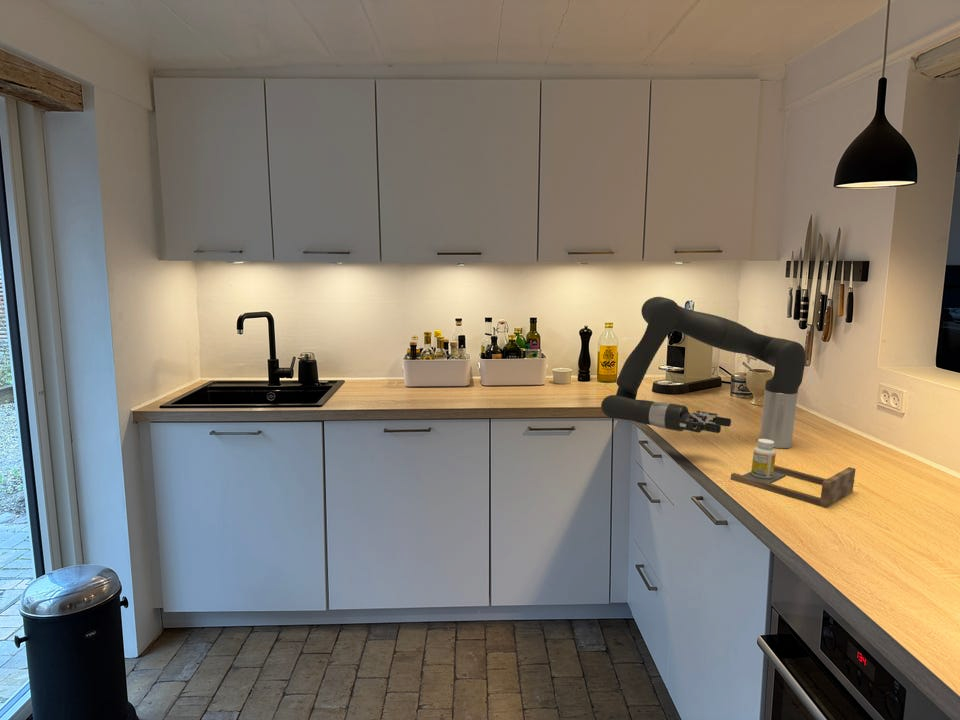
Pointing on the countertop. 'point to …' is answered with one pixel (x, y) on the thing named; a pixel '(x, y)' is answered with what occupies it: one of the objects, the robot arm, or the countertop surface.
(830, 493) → the bay
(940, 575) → the countertop surface
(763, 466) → the supplement bottle
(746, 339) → the robot arm
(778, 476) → the front mat
